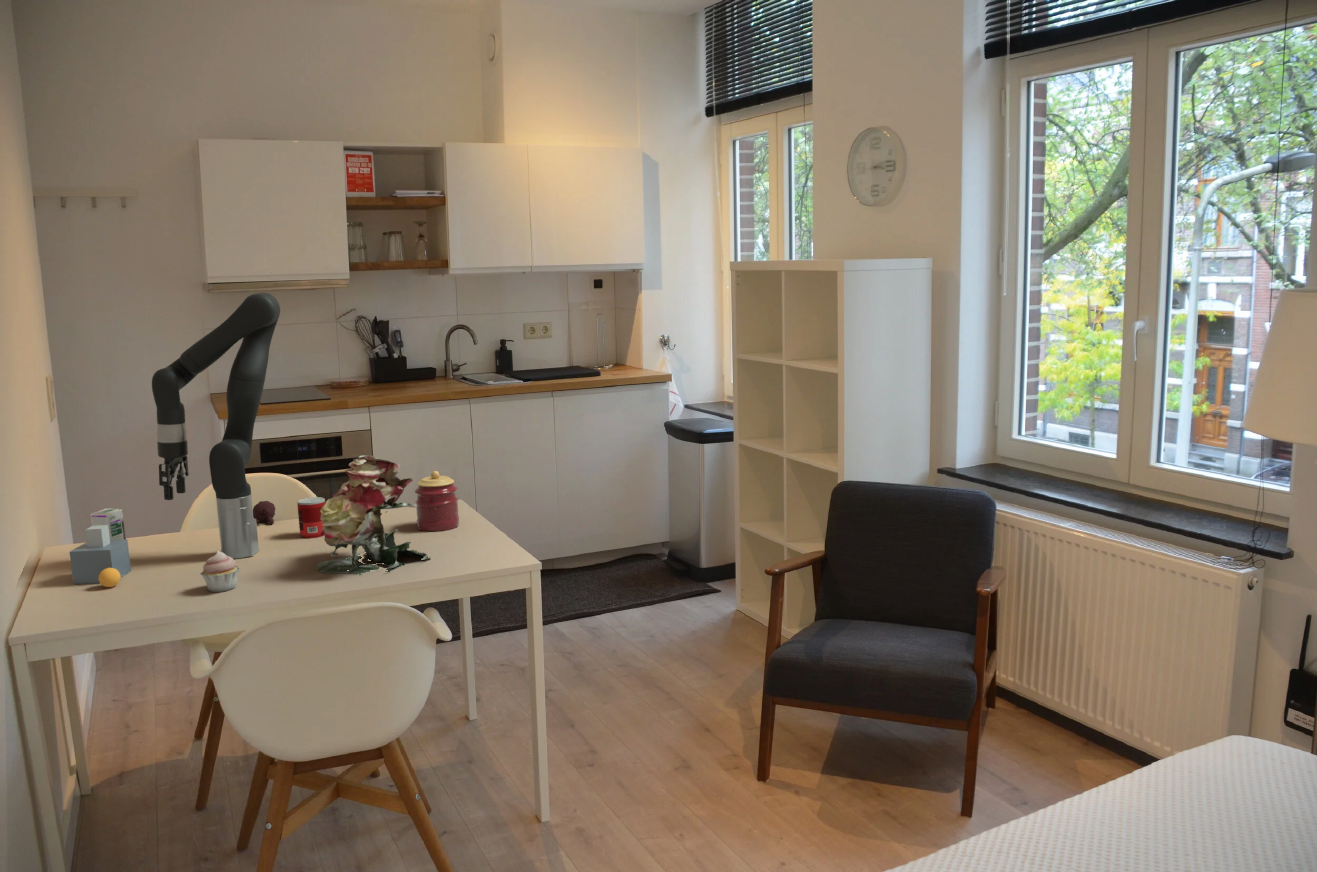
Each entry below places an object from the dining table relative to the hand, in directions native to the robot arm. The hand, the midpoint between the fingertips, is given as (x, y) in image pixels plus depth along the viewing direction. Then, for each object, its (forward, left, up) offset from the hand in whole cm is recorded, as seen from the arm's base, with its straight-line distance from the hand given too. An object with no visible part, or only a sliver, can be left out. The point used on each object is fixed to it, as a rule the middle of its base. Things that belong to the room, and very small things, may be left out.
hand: (175, 496), depth 282 cm
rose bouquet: (-54, +13, -18) cm, 59 cm away
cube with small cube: (+15, +15, -18) cm, 28 cm away
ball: (+9, +24, -16) cm, 30 cm away
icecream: (-10, -42, -18) cm, 47 cm away
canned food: (-31, -21, -18) cm, 42 cm away
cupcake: (-21, +30, -18) cm, 41 cm away
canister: (-68, -25, -18) cm, 75 cm away
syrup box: (+20, -2, -18) cm, 27 cm away
